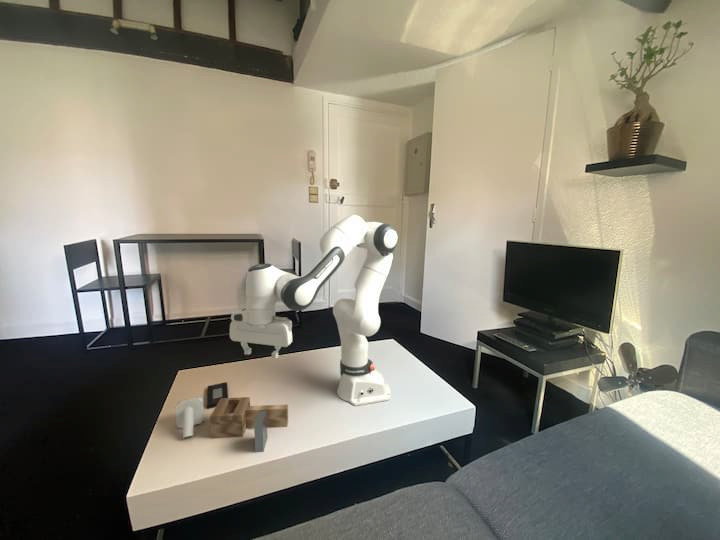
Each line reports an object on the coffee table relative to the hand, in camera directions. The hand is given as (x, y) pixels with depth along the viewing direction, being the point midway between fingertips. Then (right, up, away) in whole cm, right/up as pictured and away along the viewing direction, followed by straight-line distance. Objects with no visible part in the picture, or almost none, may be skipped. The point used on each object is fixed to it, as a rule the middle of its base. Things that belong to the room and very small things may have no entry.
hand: (261, 355), depth 97 cm
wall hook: (-26, -27, +5) cm, 38 cm away
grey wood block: (0, -29, -1) cm, 28 cm away
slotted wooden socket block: (-5, -27, +7) cm, 28 cm away
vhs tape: (-26, -24, +24) cm, 43 cm away
